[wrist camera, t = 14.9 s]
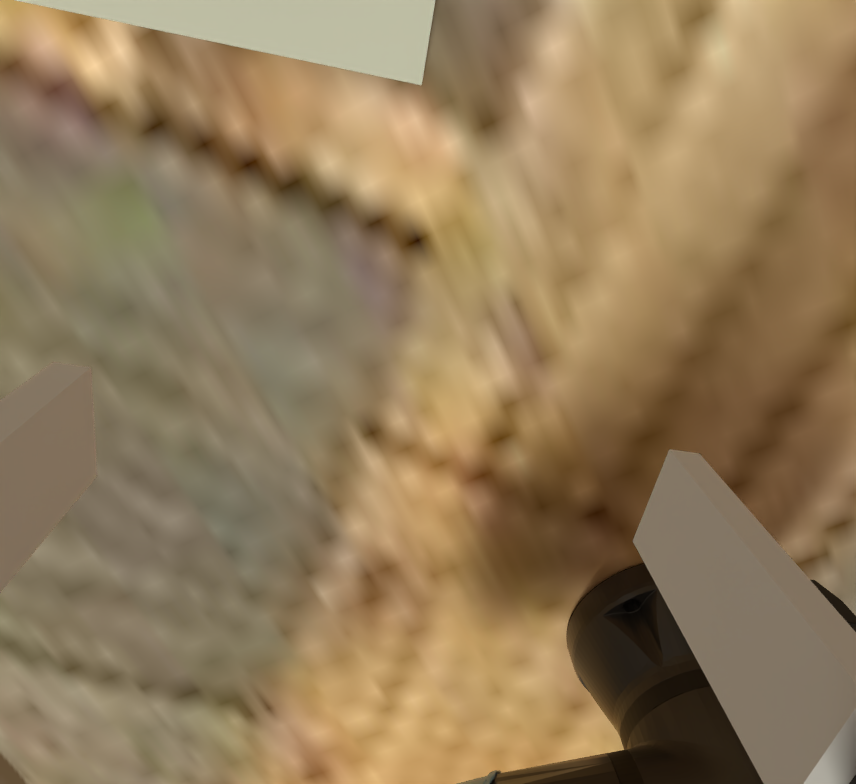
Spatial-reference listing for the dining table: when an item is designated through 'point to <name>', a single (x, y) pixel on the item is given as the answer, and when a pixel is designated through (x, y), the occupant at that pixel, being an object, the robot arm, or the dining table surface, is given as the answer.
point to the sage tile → (289, 28)
